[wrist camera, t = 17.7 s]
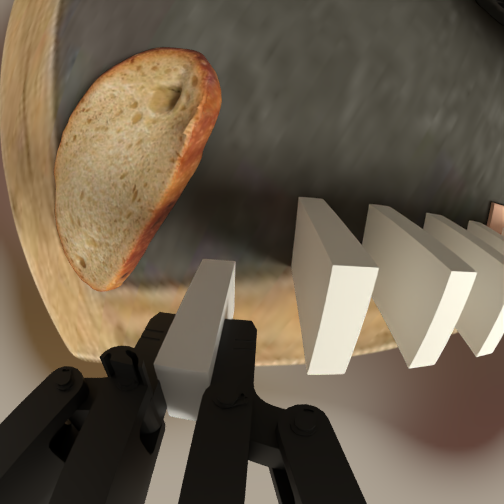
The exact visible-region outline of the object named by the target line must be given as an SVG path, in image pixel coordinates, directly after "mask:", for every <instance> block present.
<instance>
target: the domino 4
mask: <svg viewBox="0 0 504 504" xmlns="http://www.w3.org/2000/svg"><path fill="white" fill-rule="evenodd" d="M467 231H469V232H470V233H472V234H473V235H475V236H476V237H478V238H479V239H481V240H482V241H484V242H485V243H487V244H488V245H490V246H491V247H493V248H494V249H496V250H497V251H498V252H500V253H501V254H503V255H504V236H502V235H501V234H499V233H497V232H496V231H494V230H492V229H491V228H489V227H487V226H486V225H484V224H482V223H480V222H476V221H471V220H469V223H468V227H467Z"/></svg>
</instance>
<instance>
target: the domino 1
mask: <svg viewBox="0 0 504 504" xmlns="http://www.w3.org/2000/svg"><path fill="white" fill-rule="evenodd" d="M291 269H292V275H293V281H294V287H295V293H296V300H297V306H298V312H299V319H300V326H301V333H302V339H303V347H304V354H305V361H306V368H307V374H309V375H323V374H344V373H345V371H346V368H347V366H348V363H349V361H350V358H351V356H352V353H353V350H354V347H355V345H356V342H357V339H358V336H359V333H360V330H361V328H362V325H363V321H364V318H365V315H366V312H367V309H368V306H369V302H370V299H371V296H372V292H373V289H374V285H375V281H376V278H377V274H378V270H379V267H378V266H377V264H376V263H375V262H374V260H373V259H372V258H371V256H370V255H369V254H368V253H367V251H366V250H365V249H364V247H363V246H362V245H361V244H360V242H359V241H358V240H357V239H356V237H355V236H354V235H353V234H352V232H351V231H350V230H349V229H348V228H347V226H346V225H345V224H344V223H343V222H342V220H341V219H340V218H339V217H338V216H337V214H336V213H335V212H334V211H333V210H332V209H331V207H330V206H329V205H328V204H327V203H326V202H325V201H324V199H320V198H309V197H299V198H298V208H297V218H296V228H295V238H294V247H293V255H292V264H291Z"/></svg>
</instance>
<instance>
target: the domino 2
mask: <svg viewBox="0 0 504 504" xmlns="http://www.w3.org/2000/svg"><path fill="white" fill-rule="evenodd" d="M362 246H363V247H364V249H365V250H366V251H367V253H368V254H369V255H370V256H371V258H372V259H373V260H374V262H375V263H376V264H377V266H378V267H379V270H378V274H377V278H376V281H375V285H374V289H373V292H372V298H373V300H374V302H375V304H376V305H377V307H378V309H379V311H380V313H381V315H382V316H383V318H384V320H385V322H386V324H387V326H388V328H389V330H390V332H391V333H392V335H393V337H394V339H395V341H396V343H397V345H398V347H399V349H400V351H401V353H402V355H403V357H404V359H405V362H406V364H407V366H408V368H415V367H422V366H429V365H434V364H435V363H436V361H437V359H438V358H439V356H440V354H441V352H442V350H443V348H444V347H445V345H446V343H447V341H448V339H449V337H450V335H451V333H452V331H453V329H454V327H455V325H456V323H457V321H458V319H459V317H460V314H461V312H462V310H463V308H464V305H465V303H466V301H467V298H468V296H469V293H470V291H471V288H472V286H473V283H474V280H475V278H476V275H477V272H476V271H475V270H474V269H473V268H472V267H471V266H469V265H468V264H467V263H466V262H465V261H463V260H462V259H461V258H460V257H458V256H457V255H456V254H455V253H453V252H452V251H451V250H450V249H448V248H447V247H446V246H445V245H443V244H442V243H441V242H439V241H438V240H437V239H435V238H434V237H433V236H431V235H430V234H429V233H427V232H426V231H425V230H423V229H422V228H420V227H419V226H418V225H416V224H415V223H413V222H412V221H410V220H409V219H408V218H406V217H405V216H403V215H402V214H400V213H399V212H397V211H396V210H394V209H393V208H391V207H390V206H383V205H376V204H369V207H368V214H367V219H366V225H365V231H364V236H363V241H362Z"/></svg>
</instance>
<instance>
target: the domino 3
mask: <svg viewBox="0 0 504 504" xmlns="http://www.w3.org/2000/svg"><path fill="white" fill-rule="evenodd" d="M423 230H425V231H426V232H427V233H429V234H430V235H431V236H433V237H434V238H435V239H437V240H438V241H439V242H441V243H442V244H443V245H445V246H446V247H447V248H448V249H450V250H451V251H452V252H453V253H455V254H456V255H457V256H458V257H460V258H461V259H462V260H463V261H465V262H466V263H467V264H468V265H469V266H471V267H472V268H473V269H474V270H475V271H476V272H477V275H476V278H475V280H474V283H473V286H472V288H471V291H470V293H469V296H468V298H467V301H466V303H465V305H464V308H463V310H462V312H461V314H460V317H459V319H458V321H457V323H456V325H455V328H456V329H457V331H458V332H459V333H460V334H461V336H462V337H463V339H464V340H465V341H466V343H467V344H468V346H469V347H470V349H471V350H472V352H473V353H474V354H475V356H476V357H478V356H482V355H486V354H490V353H492V352H493V351H494V349H495V347H496V346H497V344H498V342H499V340H500V339H501V337H502V335H503V333H504V255H503V254H501V253H500V252H498V251H497V250H496V249H494V248H493V247H491V246H490V245H488V244H487V243H485V242H484V241H482V240H481V239H479V238H478V237H476V236H475V235H473V234H472V233H470V232H469V231H467V230H465V229H464V228H462V227H461V226H459V225H457V224H456V223H454V222H452V221H451V220H449V219H447V218H446V217H444V216H442V215H437V214H431V213H426V217H425V222H424V227H423Z"/></svg>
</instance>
